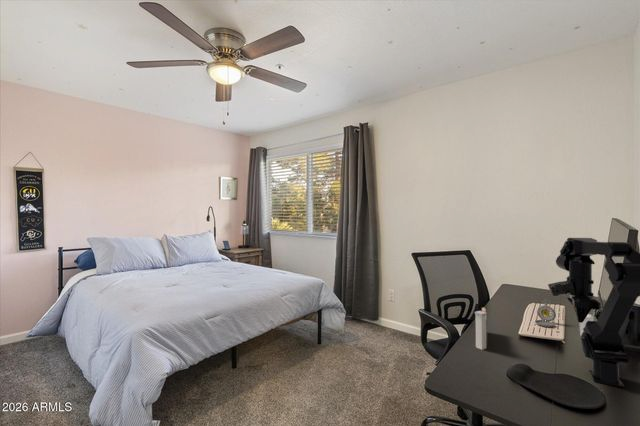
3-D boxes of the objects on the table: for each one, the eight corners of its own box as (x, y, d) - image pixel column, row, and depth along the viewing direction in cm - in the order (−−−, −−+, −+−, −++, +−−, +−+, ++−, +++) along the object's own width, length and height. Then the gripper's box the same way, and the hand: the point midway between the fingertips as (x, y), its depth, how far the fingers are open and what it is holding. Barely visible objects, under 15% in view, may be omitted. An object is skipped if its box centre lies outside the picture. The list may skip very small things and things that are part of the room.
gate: (487, 345, 111) (487, 319, 111) (482, 345, 112) (482, 319, 112) (485, 330, 125) (485, 307, 125) (481, 330, 126) (481, 307, 126)
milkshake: (599, 340, 116) (599, 313, 116) (582, 339, 118) (582, 312, 117) (591, 335, 121) (591, 309, 121) (575, 334, 122) (575, 309, 122)
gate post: (482, 350, 109) (481, 314, 109) (474, 347, 112) (474, 311, 112) (487, 348, 110) (486, 312, 110) (479, 345, 113) (479, 310, 113)
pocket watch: (539, 327, 130) (539, 303, 130) (530, 320, 138) (530, 298, 138) (561, 328, 128) (561, 304, 128) (551, 321, 136) (551, 299, 136)
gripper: (546, 268, 114) (546, 310, 114) (554, 279, 98) (554, 327, 98) (584, 270, 109) (584, 314, 109) (601, 282, 92) (601, 334, 93)
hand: (580, 322), depth 102 cm, fingers closed
